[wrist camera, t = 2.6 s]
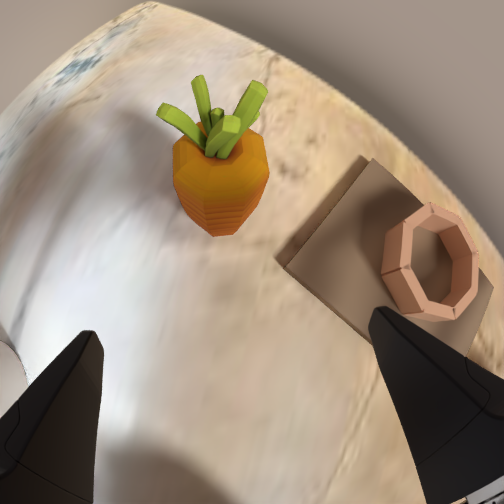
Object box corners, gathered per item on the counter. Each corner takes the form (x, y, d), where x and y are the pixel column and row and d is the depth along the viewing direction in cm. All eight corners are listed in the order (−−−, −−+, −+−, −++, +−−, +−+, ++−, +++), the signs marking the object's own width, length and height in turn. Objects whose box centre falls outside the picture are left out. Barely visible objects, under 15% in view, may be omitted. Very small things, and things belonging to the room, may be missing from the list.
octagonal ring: (415, 340, 22) (436, 340, 19) (363, 247, 23) (380, 236, 20) (470, 282, 23) (489, 277, 21) (427, 202, 25) (444, 190, 22)
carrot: (181, 248, 23) (124, 130, 8) (201, 193, 24) (182, 44, 10) (242, 265, 23) (274, 163, 8) (258, 208, 24) (301, 66, 10)
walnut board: (487, 288, 25) (493, 287, 24) (434, 399, 21) (441, 401, 20) (368, 163, 26) (372, 158, 25) (283, 268, 23) (286, 266, 22)
